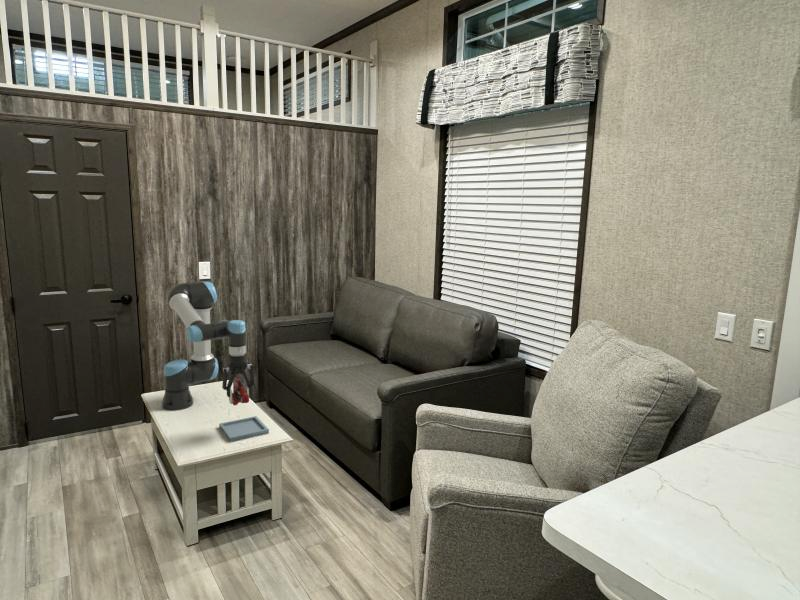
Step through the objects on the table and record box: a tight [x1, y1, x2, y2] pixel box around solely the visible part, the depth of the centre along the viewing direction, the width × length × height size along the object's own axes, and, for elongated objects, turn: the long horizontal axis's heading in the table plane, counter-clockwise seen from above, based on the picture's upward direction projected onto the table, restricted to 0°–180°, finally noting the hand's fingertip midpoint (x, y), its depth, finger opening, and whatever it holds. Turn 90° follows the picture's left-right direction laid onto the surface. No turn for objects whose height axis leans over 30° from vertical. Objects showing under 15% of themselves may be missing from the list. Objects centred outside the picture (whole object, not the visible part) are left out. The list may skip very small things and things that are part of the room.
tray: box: [218, 415, 270, 443], centre depth 253 cm, size 18×18×2 cm
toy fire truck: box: [232, 377, 250, 406], centre depth 249 cm, size 7×12×10 cm, turn 35°
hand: (239, 401), depth 249 cm, fingers closed on toy fire truck, 7 cm apart
